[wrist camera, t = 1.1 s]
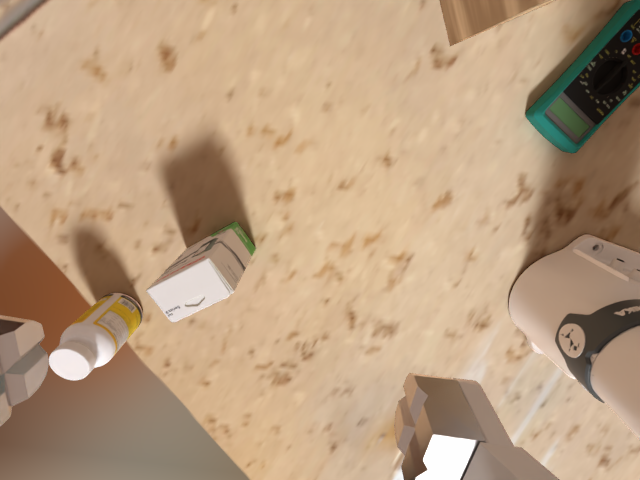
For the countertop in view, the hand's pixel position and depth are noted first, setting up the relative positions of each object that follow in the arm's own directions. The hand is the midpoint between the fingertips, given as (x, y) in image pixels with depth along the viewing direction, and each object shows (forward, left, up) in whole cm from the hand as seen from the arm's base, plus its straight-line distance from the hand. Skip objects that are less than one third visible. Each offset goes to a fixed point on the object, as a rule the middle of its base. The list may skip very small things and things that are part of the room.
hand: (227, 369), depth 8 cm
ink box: (+10, +14, -38) cm, 41 cm away
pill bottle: (+24, +26, -38) cm, 52 cm away
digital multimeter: (-31, -13, -38) cm, 51 cm away
